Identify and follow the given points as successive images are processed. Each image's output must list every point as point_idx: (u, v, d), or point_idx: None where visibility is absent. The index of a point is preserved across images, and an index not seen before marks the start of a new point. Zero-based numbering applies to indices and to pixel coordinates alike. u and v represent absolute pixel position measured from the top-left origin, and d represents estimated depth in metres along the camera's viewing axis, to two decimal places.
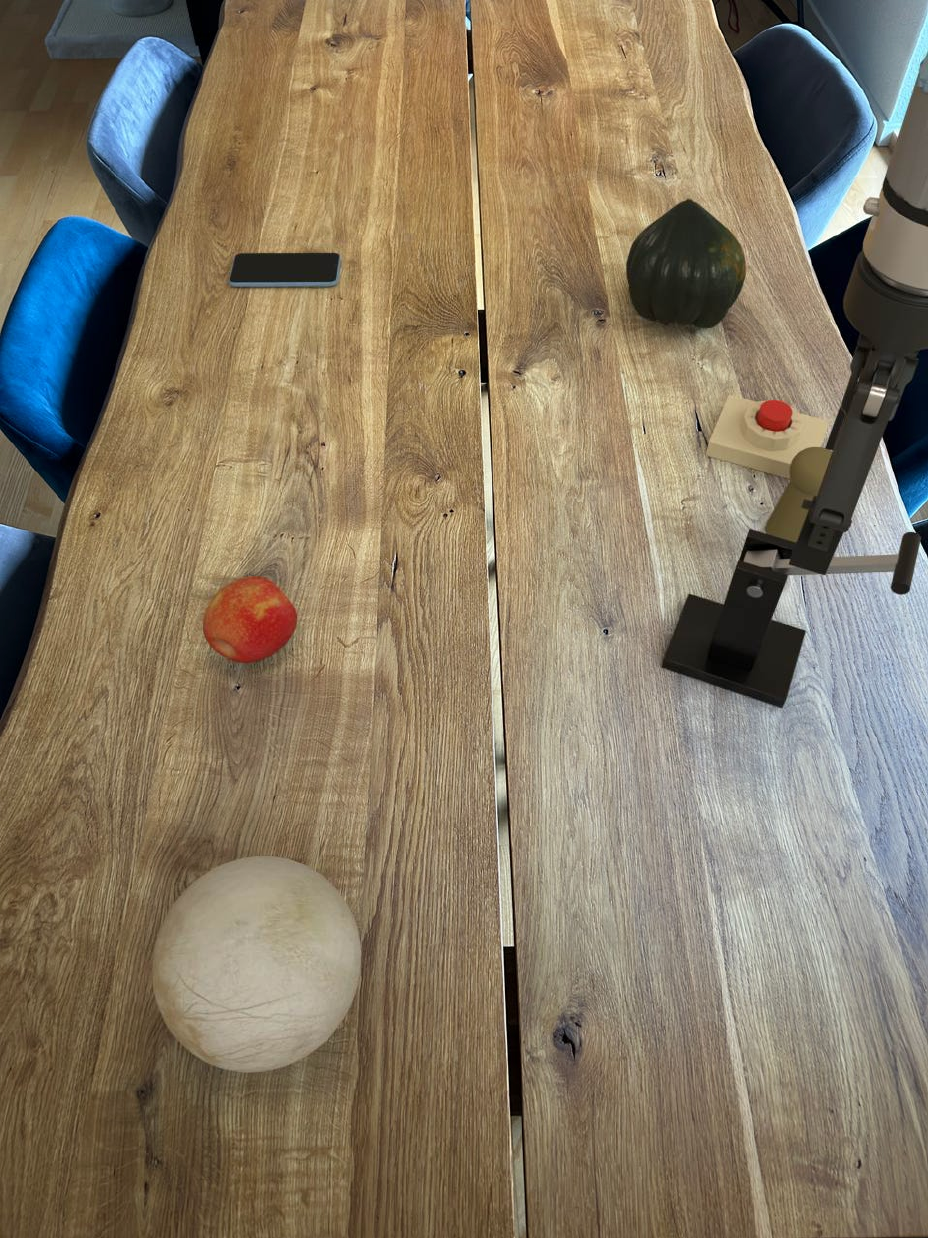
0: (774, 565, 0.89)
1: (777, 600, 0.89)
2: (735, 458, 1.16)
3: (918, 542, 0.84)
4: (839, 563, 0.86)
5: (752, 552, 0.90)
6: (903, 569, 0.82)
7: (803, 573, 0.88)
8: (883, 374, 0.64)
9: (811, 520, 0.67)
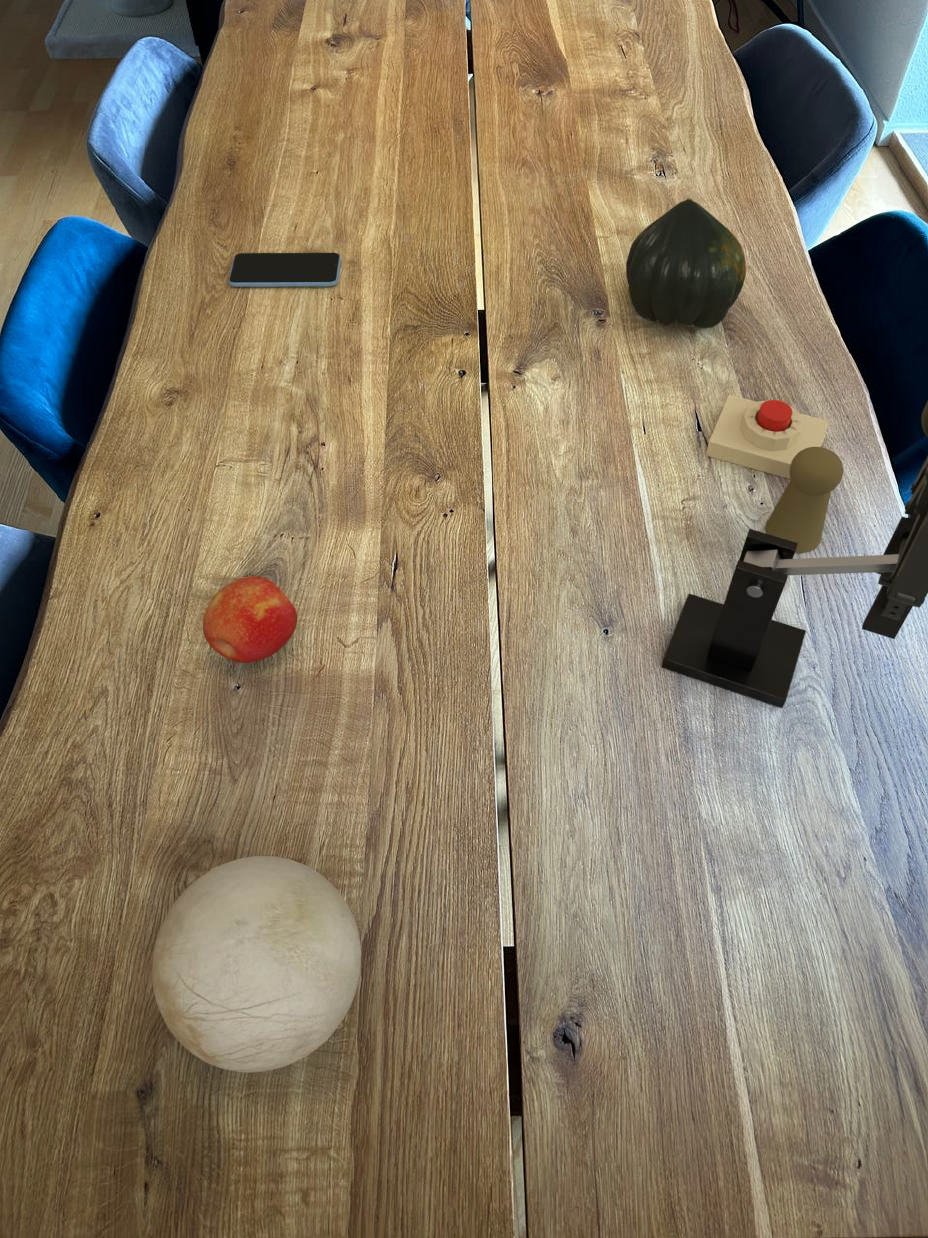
0: (774, 565, 0.89)
1: (777, 600, 0.89)
2: (735, 458, 1.16)
3: None
4: (839, 563, 0.86)
5: (752, 552, 0.90)
6: None
7: (803, 573, 0.88)
8: None
9: (888, 598, 0.78)
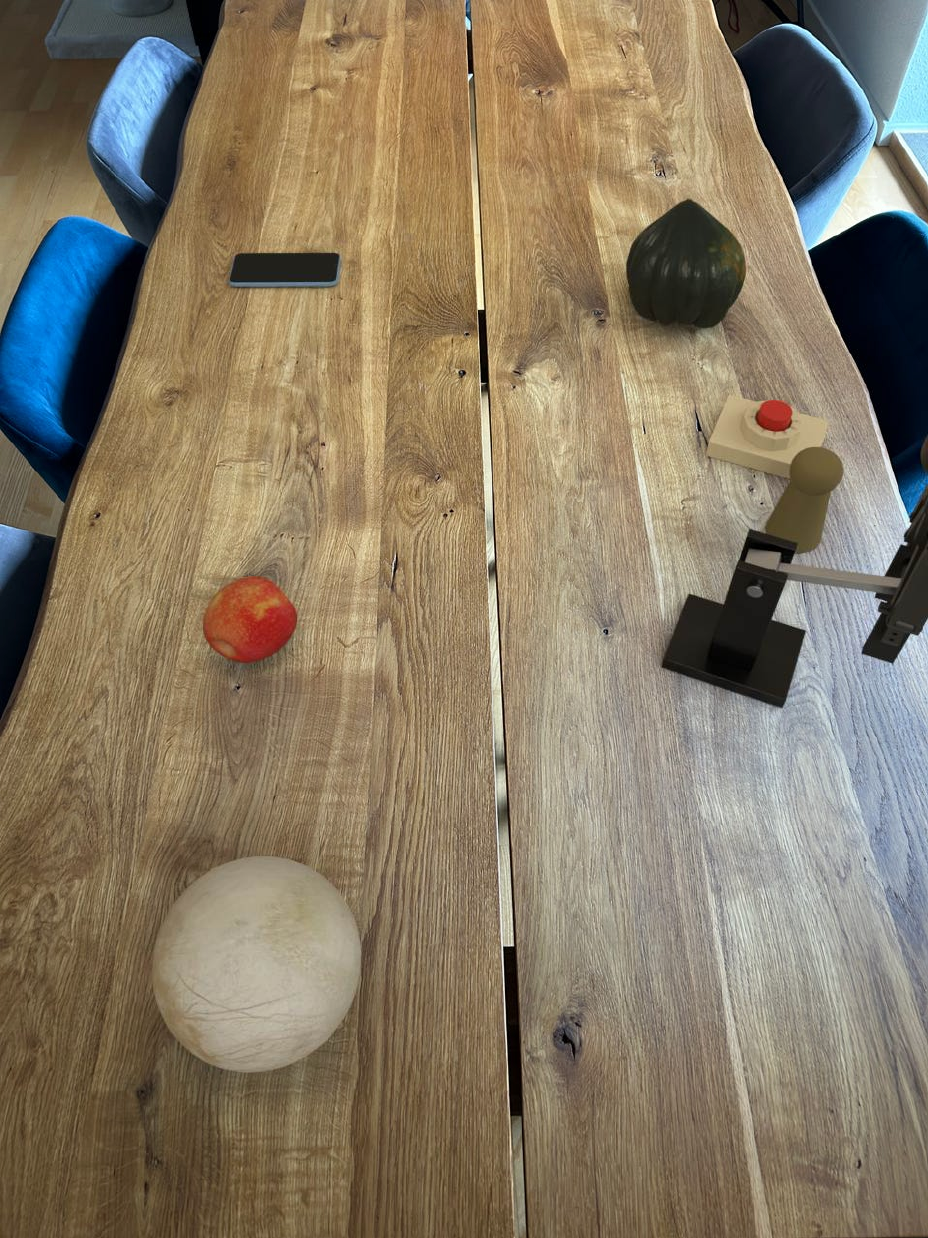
0: (777, 568, 0.89)
1: (777, 600, 0.89)
2: (735, 458, 1.16)
3: None
4: (842, 578, 0.87)
5: (755, 551, 0.90)
6: None
7: (803, 580, 0.89)
8: None
9: (887, 626, 0.80)
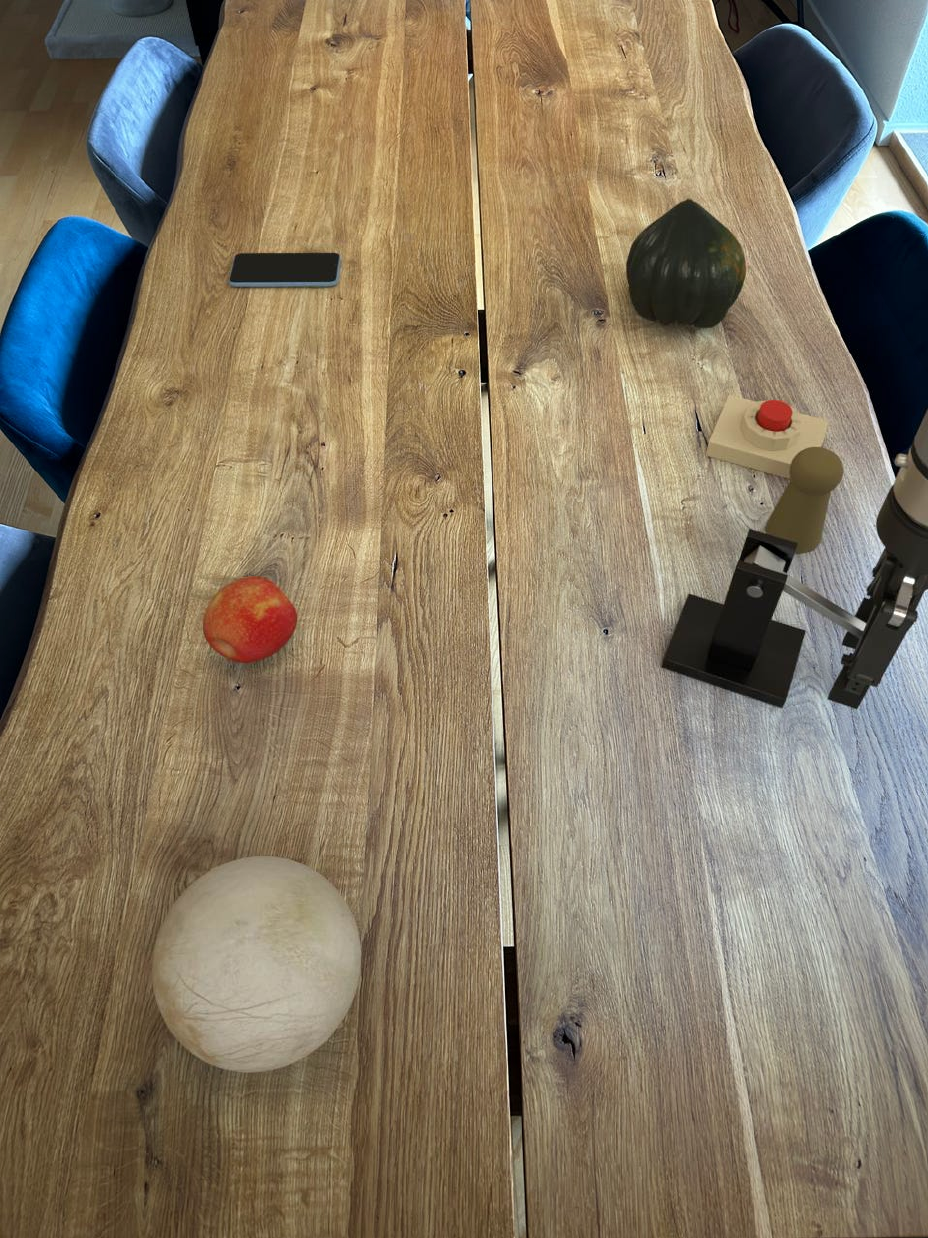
0: None
1: (777, 600, 0.89)
2: (735, 458, 1.16)
3: None
4: (828, 608, 0.90)
5: (765, 550, 0.90)
6: None
7: (793, 595, 0.90)
8: (906, 592, 0.79)
9: (848, 678, 0.86)
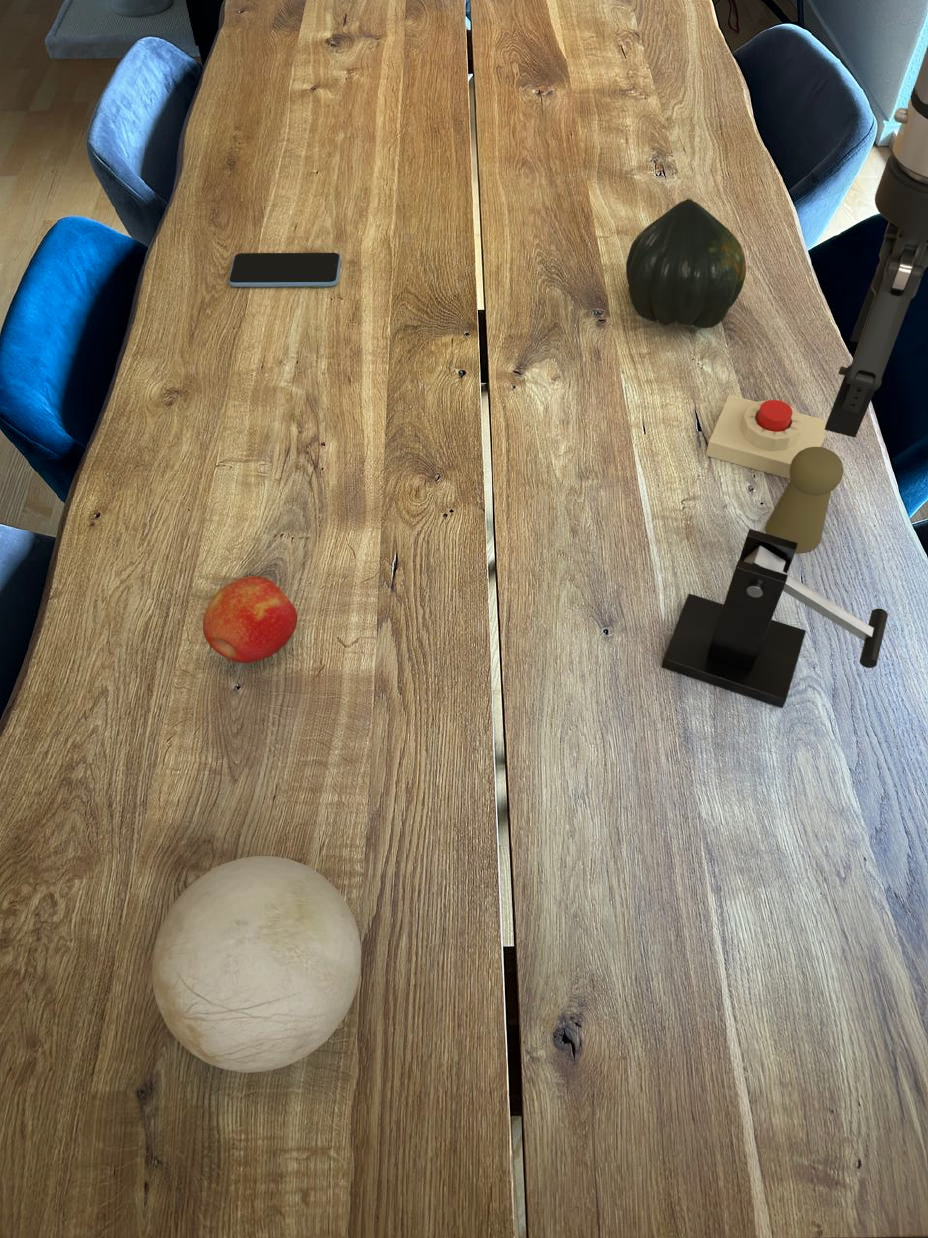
0: None
1: (777, 600, 0.89)
2: (735, 458, 1.16)
3: None
4: (828, 608, 0.90)
5: (765, 550, 0.90)
6: (877, 647, 0.90)
7: (793, 595, 0.90)
8: (909, 255, 0.78)
9: (848, 381, 0.82)
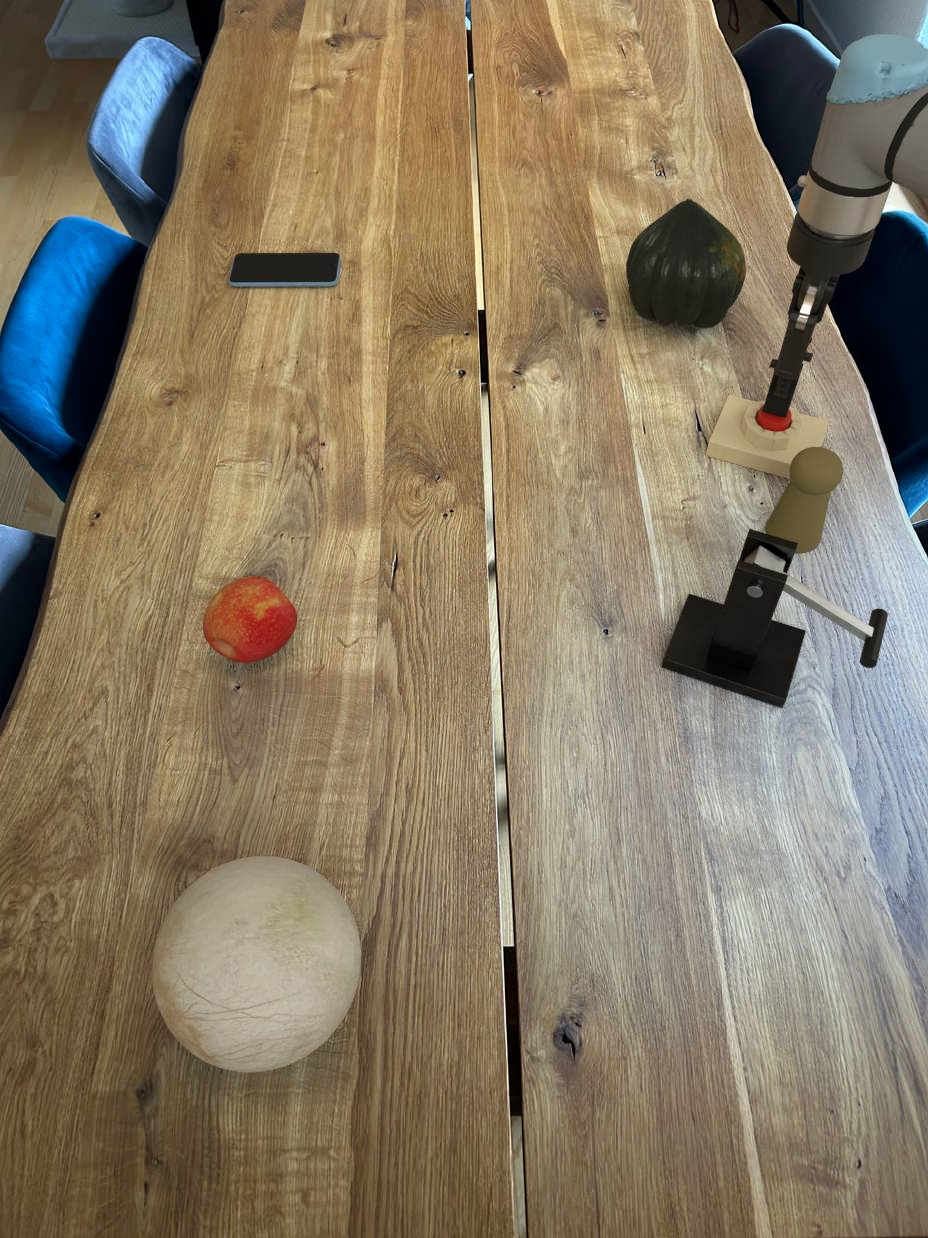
0: None
1: (777, 600, 0.89)
2: (735, 458, 1.16)
3: None
4: (828, 608, 0.90)
5: (765, 550, 0.90)
6: (877, 647, 0.90)
7: (793, 595, 0.90)
8: (809, 301, 0.98)
9: (774, 374, 1.07)
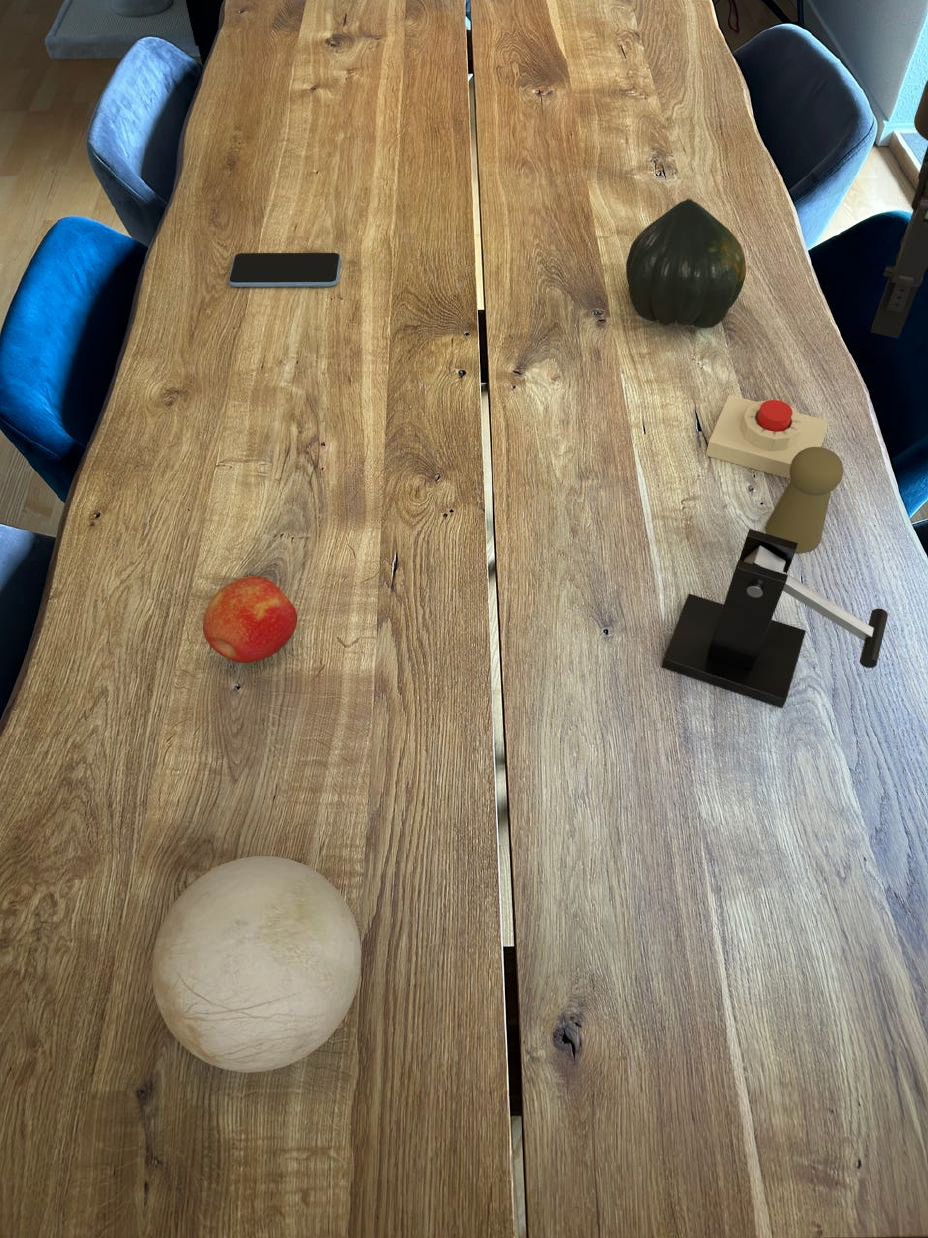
0: None
1: (777, 600, 0.89)
2: (735, 458, 1.16)
3: None
4: (828, 608, 0.90)
5: (765, 550, 0.90)
6: (877, 647, 0.90)
7: (793, 595, 0.90)
8: None
9: (892, 281, 0.92)
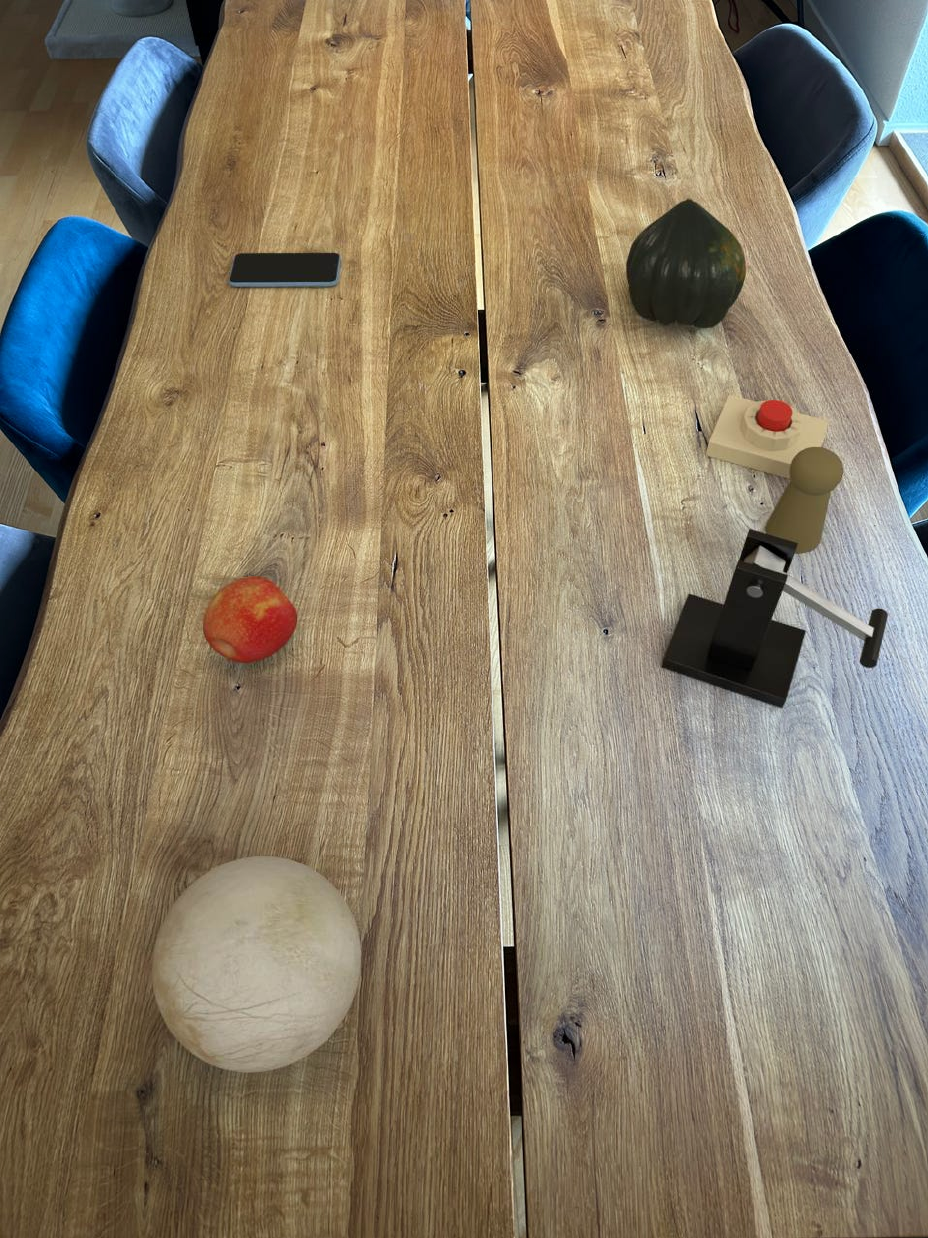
0: None
1: (777, 600, 0.89)
2: (735, 458, 1.16)
3: None
4: (828, 608, 0.90)
5: (765, 550, 0.90)
6: (877, 647, 0.90)
7: (793, 595, 0.90)
8: None
9: None
